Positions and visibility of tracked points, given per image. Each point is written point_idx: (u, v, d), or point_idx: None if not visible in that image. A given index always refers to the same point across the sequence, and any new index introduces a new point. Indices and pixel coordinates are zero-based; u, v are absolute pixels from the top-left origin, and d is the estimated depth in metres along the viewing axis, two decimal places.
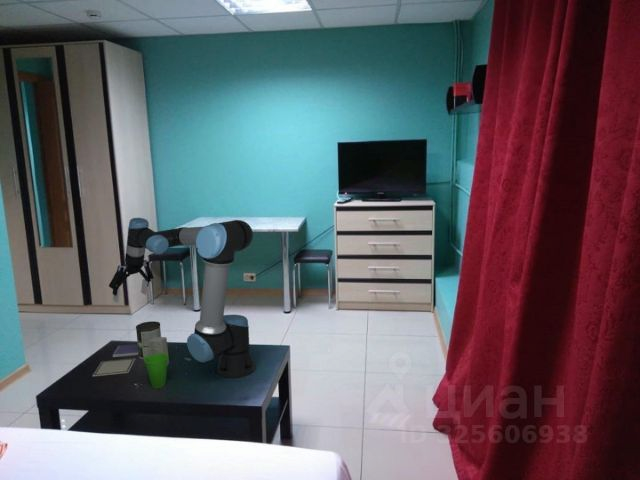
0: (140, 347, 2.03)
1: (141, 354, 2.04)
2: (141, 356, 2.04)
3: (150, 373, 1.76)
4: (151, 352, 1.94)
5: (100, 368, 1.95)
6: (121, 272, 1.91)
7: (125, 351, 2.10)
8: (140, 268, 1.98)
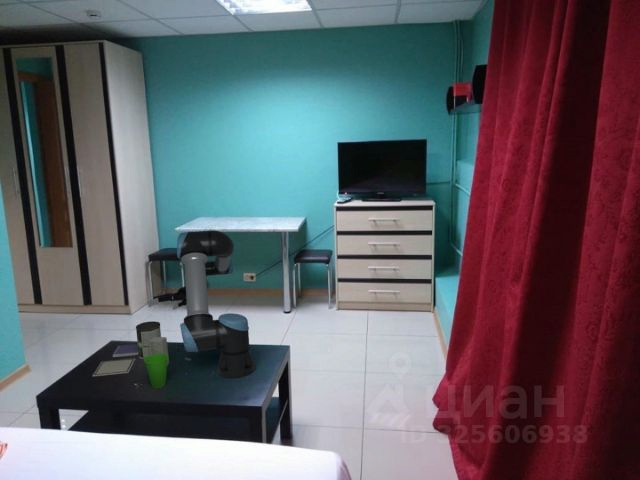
0: (140, 347, 2.03)
1: (141, 354, 2.04)
2: (141, 356, 2.04)
3: (150, 373, 1.76)
4: (151, 352, 1.94)
5: (100, 368, 1.95)
6: (168, 293, 2.29)
7: (125, 351, 2.10)
8: (182, 293, 2.27)
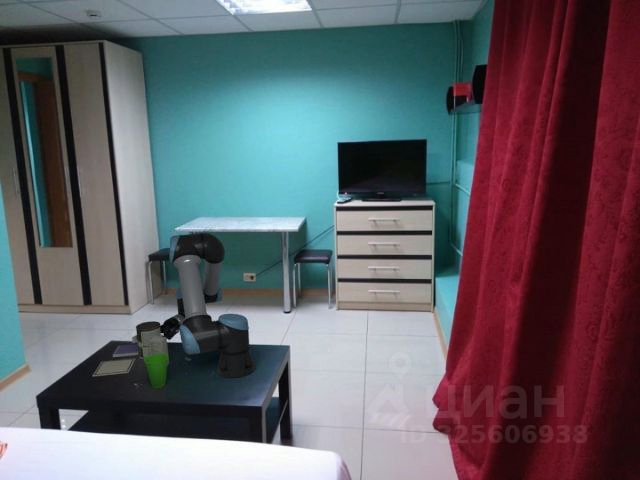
0: (140, 347, 2.03)
1: (141, 354, 2.04)
2: (141, 356, 2.04)
3: (150, 373, 1.76)
4: (151, 352, 1.94)
5: (100, 368, 1.95)
6: None
7: (125, 351, 2.10)
8: (168, 325, 2.17)
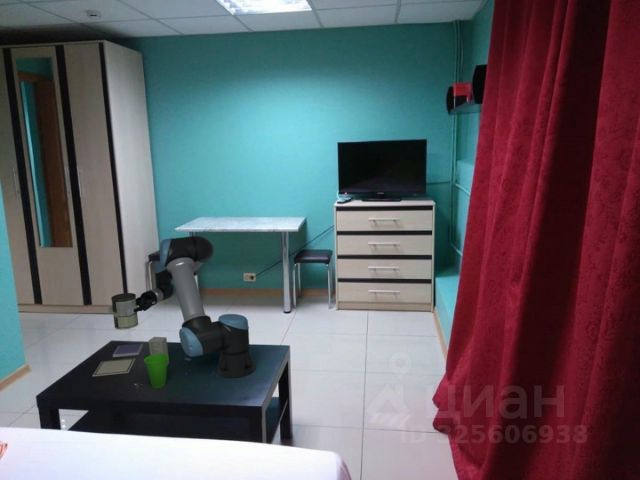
0: (115, 317, 2.06)
1: (117, 324, 2.07)
2: (116, 326, 2.07)
3: (150, 373, 1.76)
4: (151, 352, 1.94)
5: (100, 368, 1.95)
6: None
7: (125, 351, 2.10)
8: (144, 298, 2.19)
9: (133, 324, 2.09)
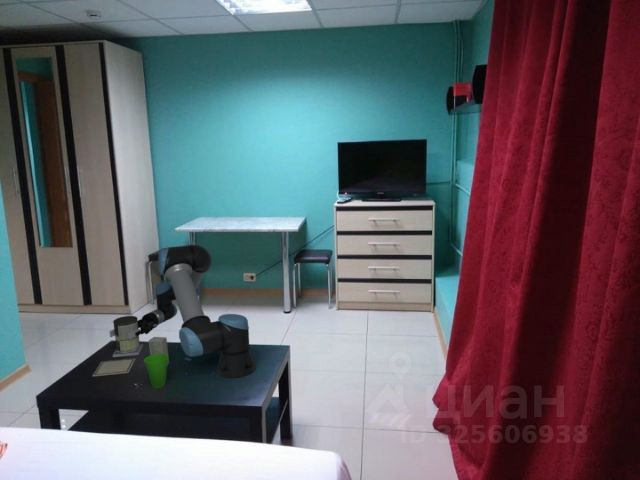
0: (117, 340, 2.08)
1: (118, 348, 2.08)
2: (118, 350, 2.09)
3: (150, 373, 1.76)
4: (151, 352, 1.94)
5: (100, 368, 1.95)
6: None
7: None
8: (146, 320, 2.21)
9: (134, 347, 2.10)
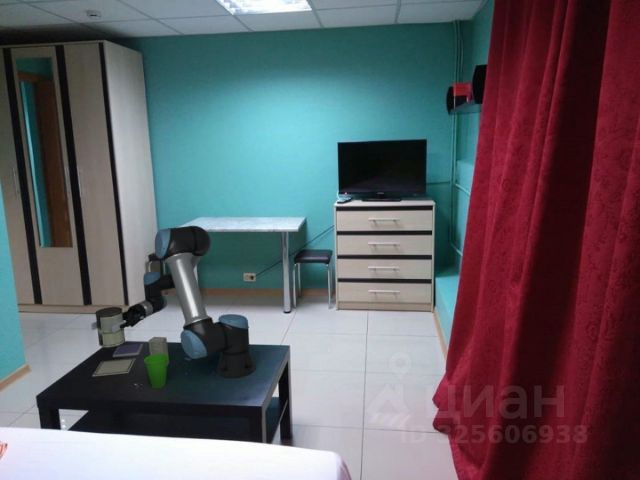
0: (100, 334, 1.89)
1: (101, 342, 1.90)
2: (101, 344, 1.90)
3: (150, 373, 1.76)
4: (151, 352, 1.94)
5: (100, 368, 1.95)
6: None
7: (125, 351, 2.10)
8: (132, 312, 2.03)
9: (119, 341, 1.92)
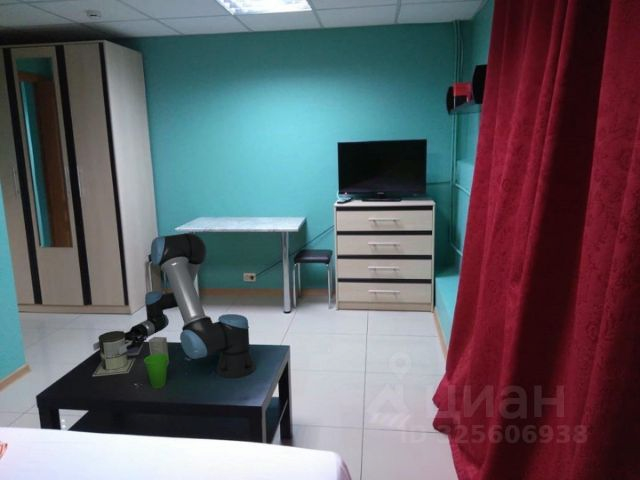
0: (103, 358, 1.91)
1: (104, 366, 1.92)
2: (104, 368, 1.92)
3: (150, 373, 1.76)
4: (151, 352, 1.94)
5: (100, 368, 1.95)
6: None
7: None
8: (134, 332, 2.04)
9: (122, 365, 1.94)
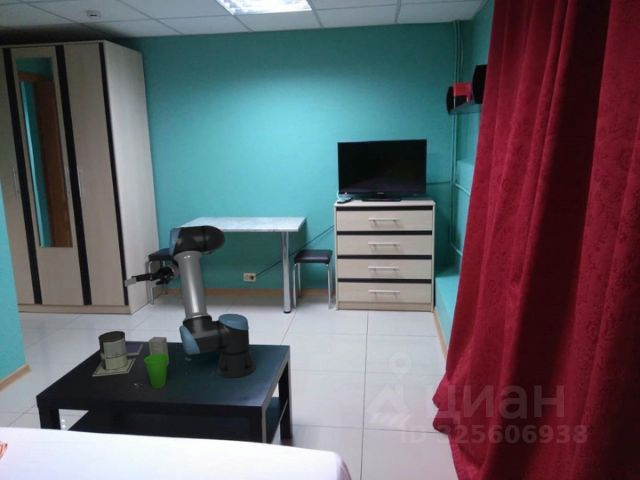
0: (103, 358, 1.91)
1: (104, 366, 1.92)
2: (104, 368, 1.92)
3: (150, 373, 1.76)
4: (151, 352, 1.94)
5: (100, 368, 1.95)
6: (147, 273, 2.22)
7: None
8: (162, 272, 2.19)
9: (122, 365, 1.94)
